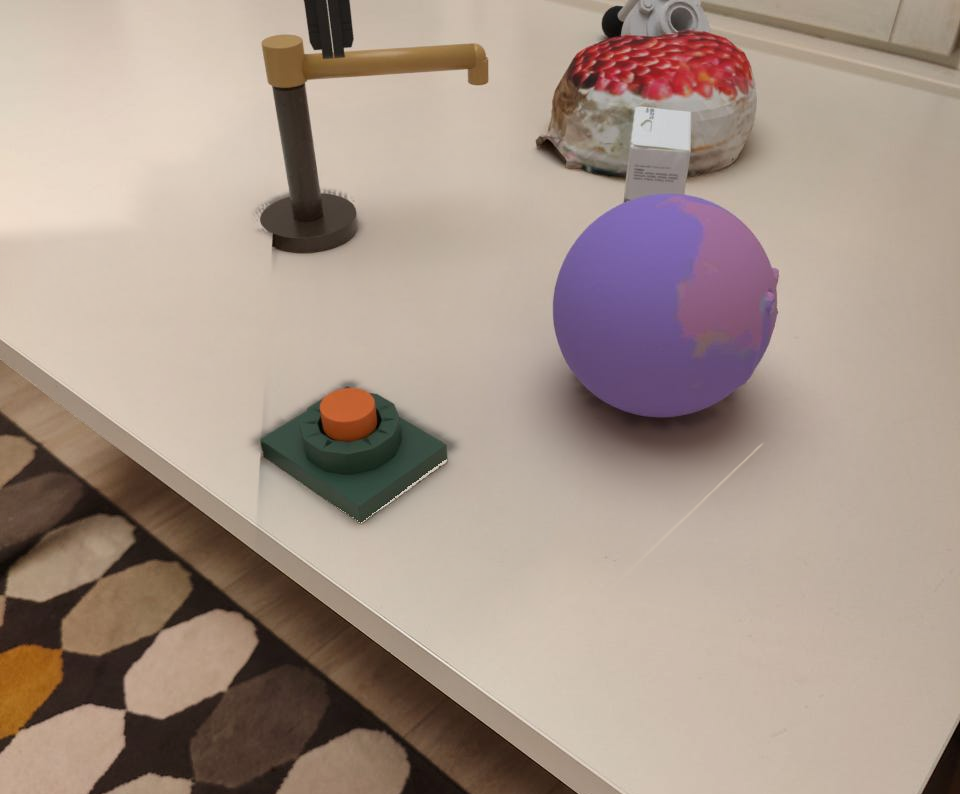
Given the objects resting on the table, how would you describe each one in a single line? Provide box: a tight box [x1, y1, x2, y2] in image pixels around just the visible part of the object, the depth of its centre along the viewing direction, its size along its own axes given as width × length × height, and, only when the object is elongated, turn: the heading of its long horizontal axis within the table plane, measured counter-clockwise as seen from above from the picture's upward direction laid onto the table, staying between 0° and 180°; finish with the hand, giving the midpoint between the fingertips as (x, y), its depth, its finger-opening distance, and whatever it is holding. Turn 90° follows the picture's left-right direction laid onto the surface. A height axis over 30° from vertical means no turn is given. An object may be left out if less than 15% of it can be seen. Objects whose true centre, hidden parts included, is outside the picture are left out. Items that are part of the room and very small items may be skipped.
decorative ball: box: [552, 194, 780, 418], centre depth 65 cm, size 15×15×15 cm
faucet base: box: [259, 82, 359, 254], centre depth 85 cm, size 9×9×14 cm
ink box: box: [623, 107, 691, 203], centre depth 81 cm, size 8×5×12 cm, turn 170°
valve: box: [601, 0, 711, 39], centre depth 119 cm, size 10×20×15 cm
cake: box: [535, 30, 758, 179], centre depth 101 cm, size 23×24×10 cm
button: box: [320, 387, 377, 442], centre depth 62 cm, size 4×4×2 cm
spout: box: [261, 34, 489, 88], centre depth 80 cm, size 19×3×4 cm, turn 98°
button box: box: [259, 385, 448, 524], centre depth 64 cm, size 10×8×4 cm
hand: (334, 54), depth 62 cm, fingers closed
